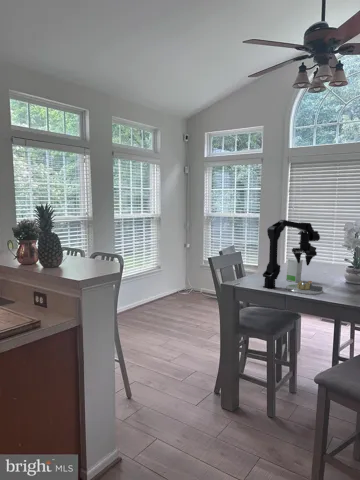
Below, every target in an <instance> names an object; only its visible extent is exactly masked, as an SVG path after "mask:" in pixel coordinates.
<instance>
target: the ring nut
mask: <svg viewBox="0 0 360 480" xmlns="http://www.w3.org/2000/svg"><path fill="white" fill-rule="evenodd" d="M302 282H304V280H301V281H300V282H297V288H299V289H305V290H306V289H312V290H318V291H322V290H323V286H322V285H321V286H320V285H314V284H311V282H308V281H307V282H304V283H305V285H302ZM322 292H323V291H322Z"/></svg>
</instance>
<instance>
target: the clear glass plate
mask: <svg viewBox="0 0 360 480" xmlns="http://www.w3.org/2000/svg"><path fill="white" fill-rule="evenodd" d="M312 281H313V280H308V281H307V282H311V284H312V283H313V282H312ZM305 283H306V282H304V281H303V282H302V285H305ZM297 284H298V283H297ZM297 284H296V283H295V284H288V285H285V290H286V291H288V292H291V293H295V294H299V295H300V294H301V295H320V294H322V293H323V289H322V291H318V290H312V289H306V290H305V289H299V288H297ZM312 285H313V284H312Z"/></svg>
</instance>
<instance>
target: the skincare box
mask: <svg viewBox="0 0 360 480" xmlns="http://www.w3.org/2000/svg"><path fill="white" fill-rule="evenodd" d="M286 265H287V266H286V277H285V281H288V282H292V283H298V282H300V281H302V280H301V279H302V269H303V259H300V263H298V262H297V260H296V258H287V264H286Z"/></svg>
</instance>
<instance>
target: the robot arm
mask: <svg viewBox="0 0 360 480" xmlns="http://www.w3.org/2000/svg"><path fill="white" fill-rule="evenodd" d="M286 227H289V228H294V229H297V230H298V231H299V232H298V233H297V235H300V237H299V239H300V241H299V242H298V245H299V247H293V248H291V252H292V253H293V255H294V257H295V259H296V260H297V262H298V263H300V260H301V258H302V257H301V255H303V254H305V256H304V258H305V263H306V266H310V263H311V260H313V259H312V258H314V257H316V256H317V255H318V253H317V252H318V251H317V247H315V246H313V245H311V242H318V241H320V239H321V236H320V233H319V231H318V230H314V228H313V226H312V223H311V222H304V221H303V222H295V221H292V220H286V219H279V220H278V221H277V222H276V223H274V224H272V225H270V226H269V227H268V228H267V230H266V232H267V236H268V239H269V259H268V263H267V265H266V270H265V271H264V272H263V273H262V277H263V278H264V284H263V285H262V287H263V288H265V289H269V290H270V289H277V288H278V287H277V286H276V280H277V279H278V277H279V275H280V273H281V265H280V264H279V263H278V245H279V243H278V242H279V239H280V237H281V235H282V234H281V233H282V232H283V231H284V230H285V228H286Z"/></svg>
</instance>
